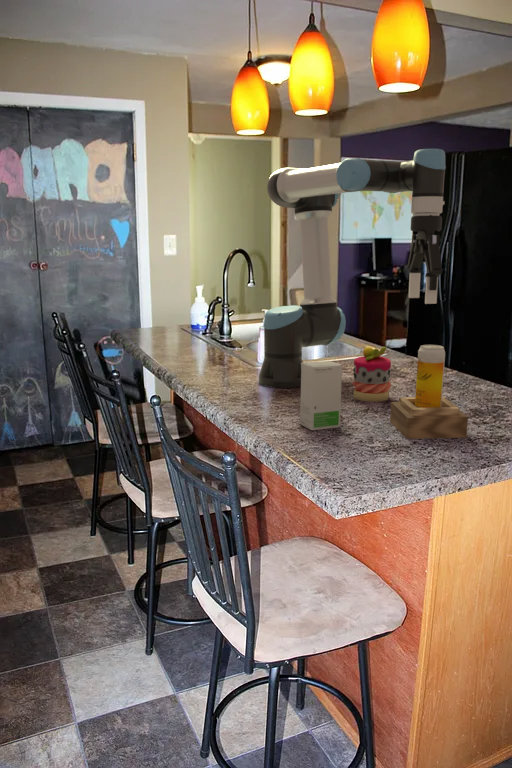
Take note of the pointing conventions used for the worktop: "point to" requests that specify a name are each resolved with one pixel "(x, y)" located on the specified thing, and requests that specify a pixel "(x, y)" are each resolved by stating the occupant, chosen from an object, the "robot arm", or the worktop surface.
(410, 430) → the stand
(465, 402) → the worktop surface
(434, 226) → the robot arm
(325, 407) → the skincare box
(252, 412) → the worktop surface
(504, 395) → the worktop surface
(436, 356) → the beer can
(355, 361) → the cake
